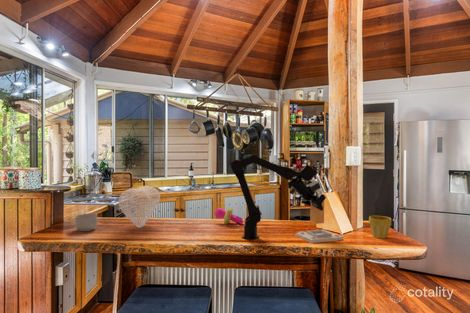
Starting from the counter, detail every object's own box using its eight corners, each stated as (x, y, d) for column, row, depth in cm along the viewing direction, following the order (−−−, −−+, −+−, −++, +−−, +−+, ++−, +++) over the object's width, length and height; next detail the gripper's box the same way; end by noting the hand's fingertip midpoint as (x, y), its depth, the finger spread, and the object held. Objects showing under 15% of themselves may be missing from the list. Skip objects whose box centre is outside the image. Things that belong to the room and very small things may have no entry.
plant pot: (389, 240, 151) (390, 220, 151) (366, 237, 157) (367, 217, 157) (392, 236, 160) (392, 217, 160) (370, 233, 165) (370, 214, 165)
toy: (238, 228, 176) (245, 211, 179) (209, 217, 180) (216, 200, 183) (240, 231, 185) (246, 215, 188) (212, 220, 189) (219, 205, 192)
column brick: (316, 223, 154) (316, 196, 154) (310, 221, 158) (310, 195, 158) (324, 223, 156) (324, 196, 156) (318, 221, 160) (318, 195, 160)
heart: (140, 234, 156) (140, 190, 156) (112, 232, 160) (112, 189, 159) (164, 222, 184) (164, 185, 184) (139, 221, 187) (140, 184, 187)
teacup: (96, 231, 162) (96, 216, 162) (73, 233, 158) (73, 217, 158) (97, 225, 175) (97, 211, 175) (76, 227, 171) (76, 212, 171)
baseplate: (311, 243, 145) (311, 237, 145) (295, 235, 158) (295, 230, 158) (343, 239, 152) (343, 234, 152) (324, 232, 165) (325, 227, 165)
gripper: (322, 177, 147) (341, 199, 151) (300, 174, 164) (317, 195, 168) (308, 194, 144) (327, 217, 148) (287, 190, 161) (304, 210, 165)
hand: (319, 209), depth 157 cm, fingers closed on column brick, 5 cm apart
